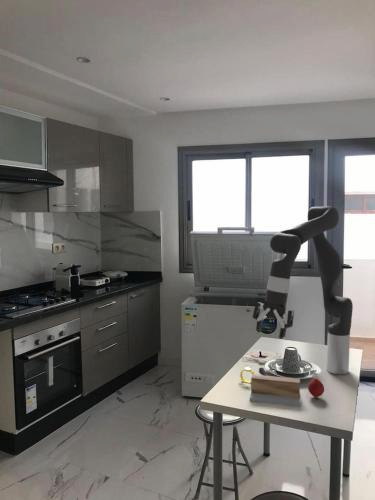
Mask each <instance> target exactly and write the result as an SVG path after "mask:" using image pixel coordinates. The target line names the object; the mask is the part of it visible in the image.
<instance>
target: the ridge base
mask: <svg viewBox="0 0 375 500" xmlns="http://www.w3.org/2000/svg"><path fill="white" fill-rule="evenodd" d="M249 401H251V402H257V403H268V404H276V405H285V406H293V407H300V398H293V397H284V396H275V395H265V394H256V393H251V392H250V396H249Z"/></svg>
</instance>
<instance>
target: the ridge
mask: <svg viewBox="0 0 375 500" xmlns="http://www.w3.org/2000/svg"><path fill="white" fill-rule="evenodd" d="M254 374H255V373H254ZM254 374H252V373H251V379H250V380H251V383H250V387H251V388H250V394H251V393H256V394H265V395H275V396H284V397H293V398H300V395H301V394H300V393H301V392H300V389H301V379H300V378H295V377H294V378H293V377H284V376H272V375H269V376H264V375H263V374H255V375H254Z"/></svg>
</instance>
